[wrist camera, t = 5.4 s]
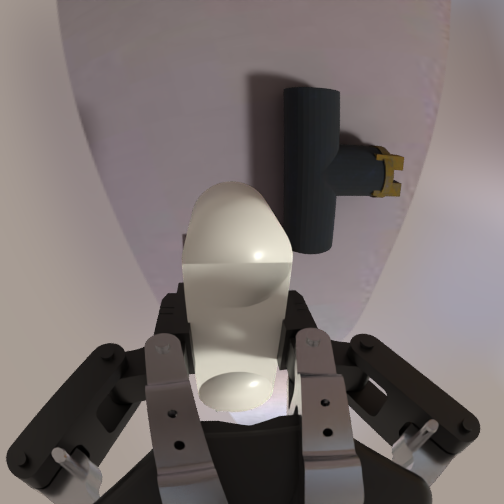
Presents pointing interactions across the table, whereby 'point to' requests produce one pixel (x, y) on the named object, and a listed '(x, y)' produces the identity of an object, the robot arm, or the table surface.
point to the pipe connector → (325, 168)
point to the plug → (235, 295)
